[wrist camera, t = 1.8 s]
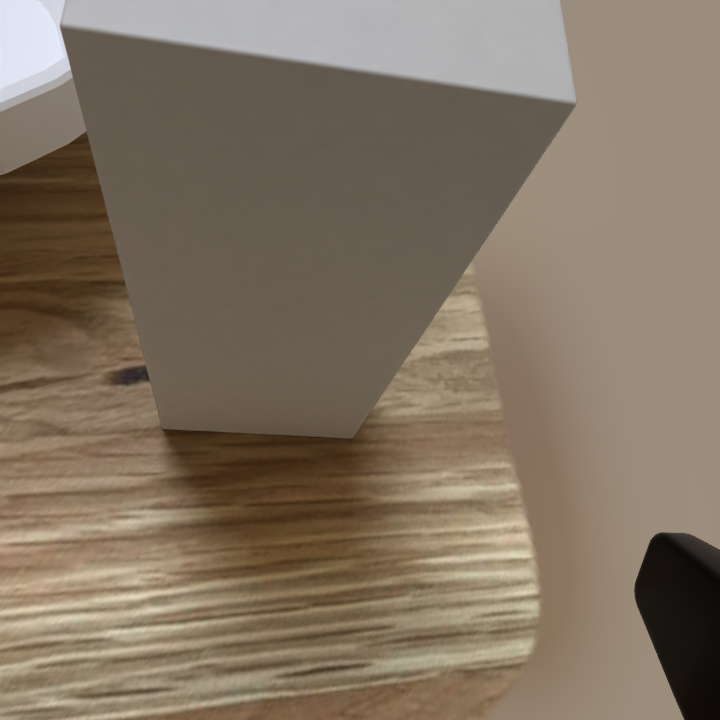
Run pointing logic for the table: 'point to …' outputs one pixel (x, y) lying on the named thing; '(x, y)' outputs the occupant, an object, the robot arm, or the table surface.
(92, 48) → the white book
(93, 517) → the table surface
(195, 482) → the table surface
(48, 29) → the bowl
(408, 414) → the table surface
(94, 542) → the table surface
